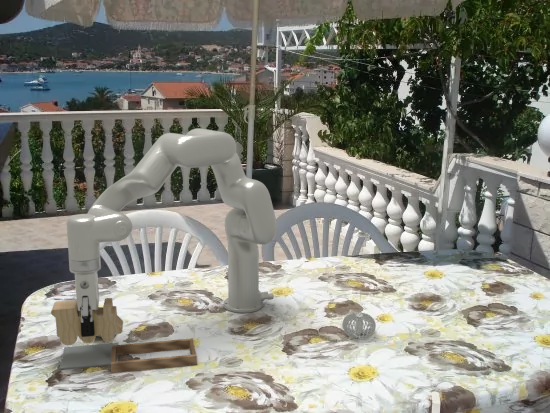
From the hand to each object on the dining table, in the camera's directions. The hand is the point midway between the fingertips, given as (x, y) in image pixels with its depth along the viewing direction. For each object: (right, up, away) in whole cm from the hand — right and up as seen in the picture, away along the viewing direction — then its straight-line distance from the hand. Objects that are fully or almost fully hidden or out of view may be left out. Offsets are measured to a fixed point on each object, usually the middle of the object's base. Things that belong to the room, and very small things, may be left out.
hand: (88, 330), depth 160 cm
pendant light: (+72, -5, +16) cm, 73 cm away
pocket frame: (+17, -8, 0) cm, 18 cm away
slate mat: (0, -7, +2) cm, 7 cm away
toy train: (0, -3, +1) cm, 3 cm away
